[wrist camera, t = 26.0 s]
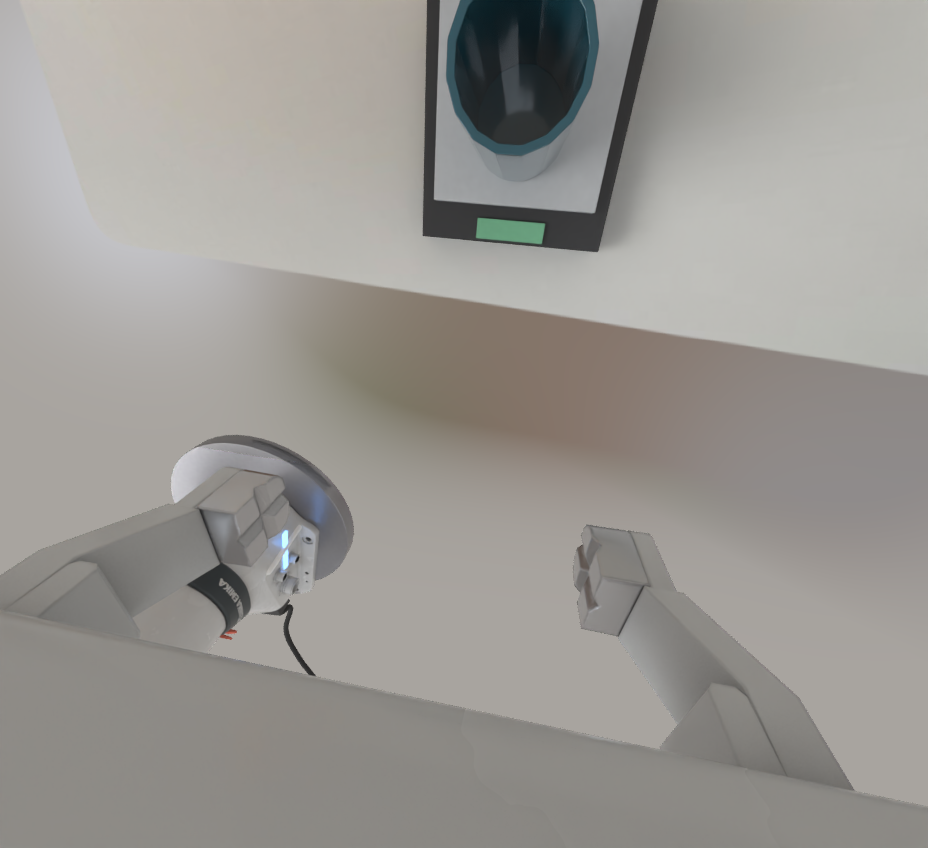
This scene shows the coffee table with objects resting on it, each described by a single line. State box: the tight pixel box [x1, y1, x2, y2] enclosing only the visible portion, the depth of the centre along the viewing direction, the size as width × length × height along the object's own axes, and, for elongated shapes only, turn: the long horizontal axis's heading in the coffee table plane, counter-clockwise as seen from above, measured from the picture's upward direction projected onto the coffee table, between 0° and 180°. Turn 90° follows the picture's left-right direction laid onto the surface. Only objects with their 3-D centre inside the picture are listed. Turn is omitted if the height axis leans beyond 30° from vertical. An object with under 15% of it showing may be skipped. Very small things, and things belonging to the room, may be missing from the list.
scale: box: [423, 0, 658, 252], centre depth 25 cm, size 14×14×3 cm
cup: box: [446, 0, 599, 182], centre depth 19 cm, size 6×6×10 cm
